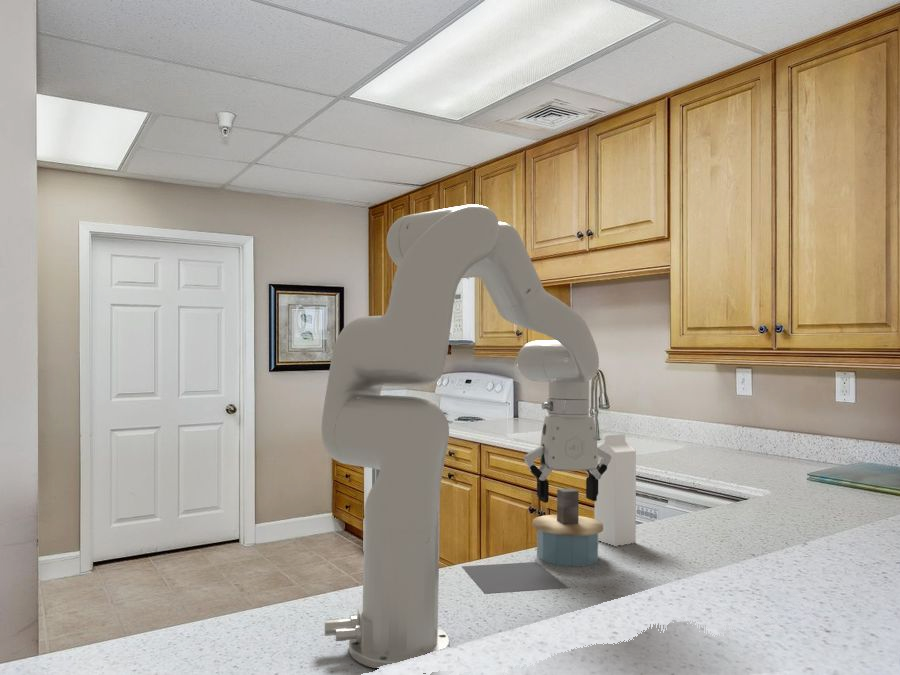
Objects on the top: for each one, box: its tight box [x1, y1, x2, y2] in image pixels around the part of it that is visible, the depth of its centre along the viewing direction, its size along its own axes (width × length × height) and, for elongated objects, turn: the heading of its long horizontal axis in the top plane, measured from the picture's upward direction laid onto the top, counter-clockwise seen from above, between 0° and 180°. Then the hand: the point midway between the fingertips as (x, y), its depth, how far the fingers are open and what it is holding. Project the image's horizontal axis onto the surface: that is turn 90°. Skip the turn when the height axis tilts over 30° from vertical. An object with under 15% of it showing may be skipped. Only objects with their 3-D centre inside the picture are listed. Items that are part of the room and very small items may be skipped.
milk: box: [593, 433, 637, 547], centre depth 135 cm, size 6×6×22 cm
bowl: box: [536, 529, 599, 567], centre depth 122 cm, size 11×11×6 cm
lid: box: [532, 488, 603, 536], centre depth 122 cm, size 13×13×7 cm
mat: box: [461, 561, 569, 595], centre depth 110 cm, size 14×14×1 cm
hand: (567, 500), depth 122 cm, fingers open, 9 cm apart
